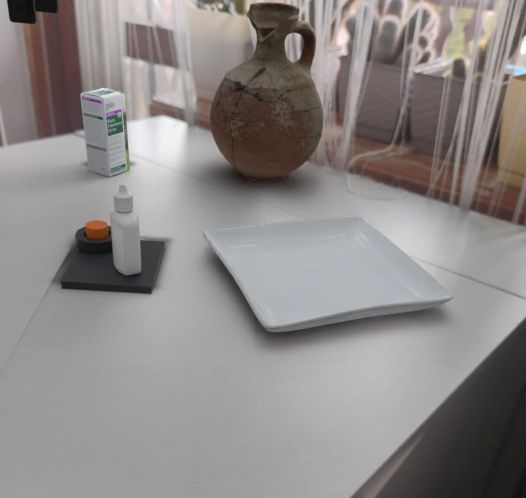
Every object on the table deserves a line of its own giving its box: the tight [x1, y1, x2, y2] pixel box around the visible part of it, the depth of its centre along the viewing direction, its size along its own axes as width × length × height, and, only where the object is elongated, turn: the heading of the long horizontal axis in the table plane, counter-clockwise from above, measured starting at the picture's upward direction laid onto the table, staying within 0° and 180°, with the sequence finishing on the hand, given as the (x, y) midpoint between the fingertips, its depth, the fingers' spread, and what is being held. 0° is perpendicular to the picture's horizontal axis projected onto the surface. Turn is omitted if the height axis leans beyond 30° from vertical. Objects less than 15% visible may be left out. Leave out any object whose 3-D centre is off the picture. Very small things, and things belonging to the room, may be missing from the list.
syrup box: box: [79, 87, 131, 178], centre depth 117 cm, size 6×6×14 cm
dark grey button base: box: [60, 225, 166, 295], centre depth 89 cm, size 12×14×3 cm
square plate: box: [202, 215, 455, 333], centre depth 89 cm, size 27×27×4 cm
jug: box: [209, 1, 325, 183], centre depth 117 cm, size 22×22×30 cm
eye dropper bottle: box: [109, 182, 141, 275], centre depth 84 cm, size 4×6×12 cm
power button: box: [84, 219, 109, 239], centre depth 91 cm, size 3×3×2 cm
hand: (35, 17), depth 82 cm, fingers open, 9 cm apart
